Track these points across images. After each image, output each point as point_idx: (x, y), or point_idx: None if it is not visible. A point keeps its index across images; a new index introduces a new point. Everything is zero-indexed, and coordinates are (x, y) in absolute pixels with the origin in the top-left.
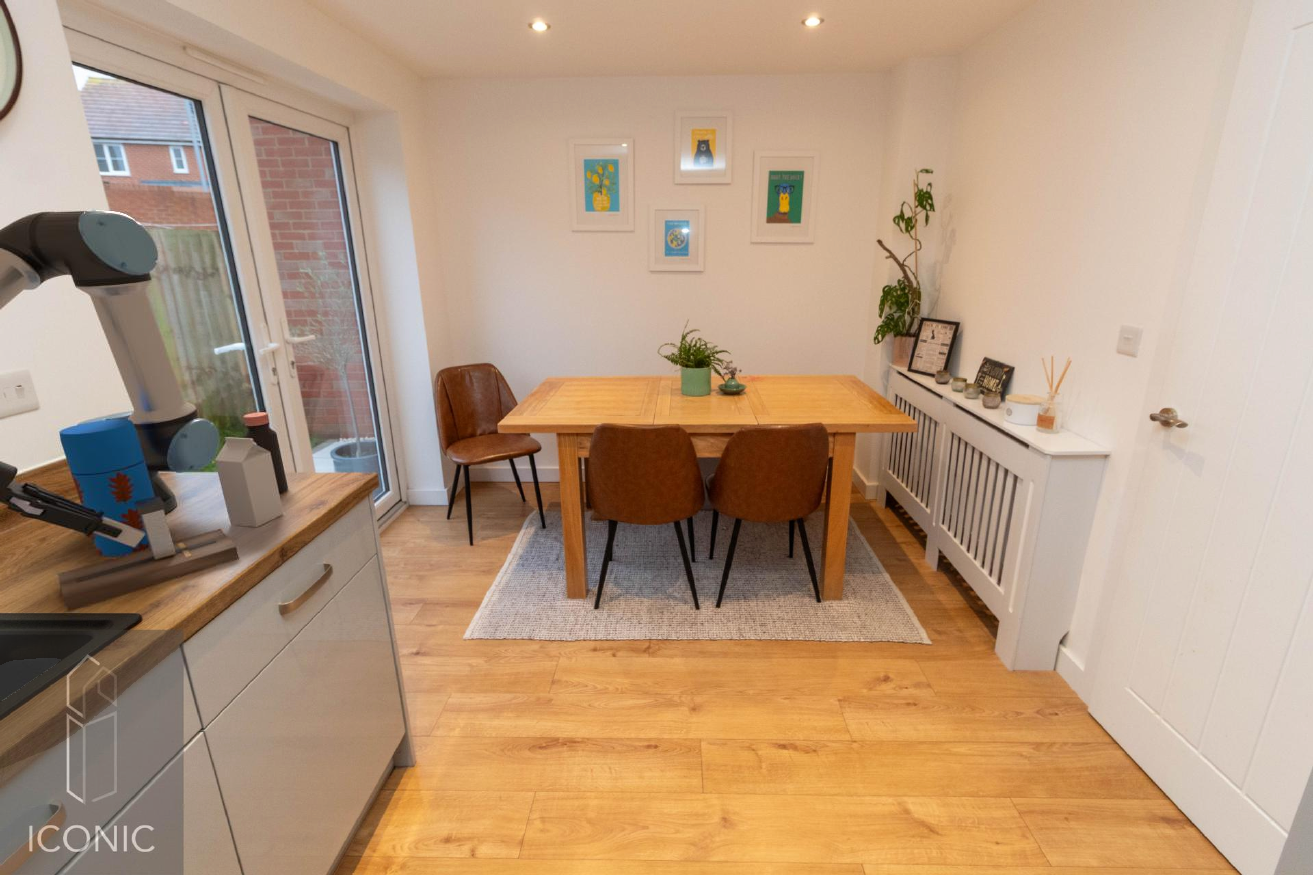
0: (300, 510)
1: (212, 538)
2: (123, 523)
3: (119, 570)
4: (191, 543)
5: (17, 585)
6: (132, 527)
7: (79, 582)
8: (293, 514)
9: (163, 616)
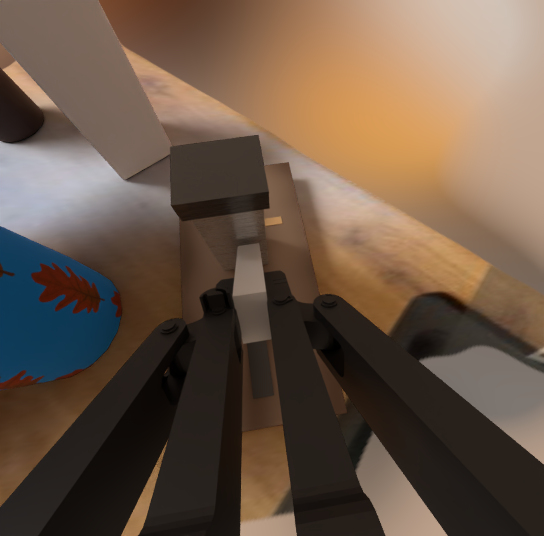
0: (151, 103)
1: None
2: (66, 306)
3: None
4: None
5: None
6: (237, 256)
7: (277, 390)
8: (160, 112)
9: (444, 266)
